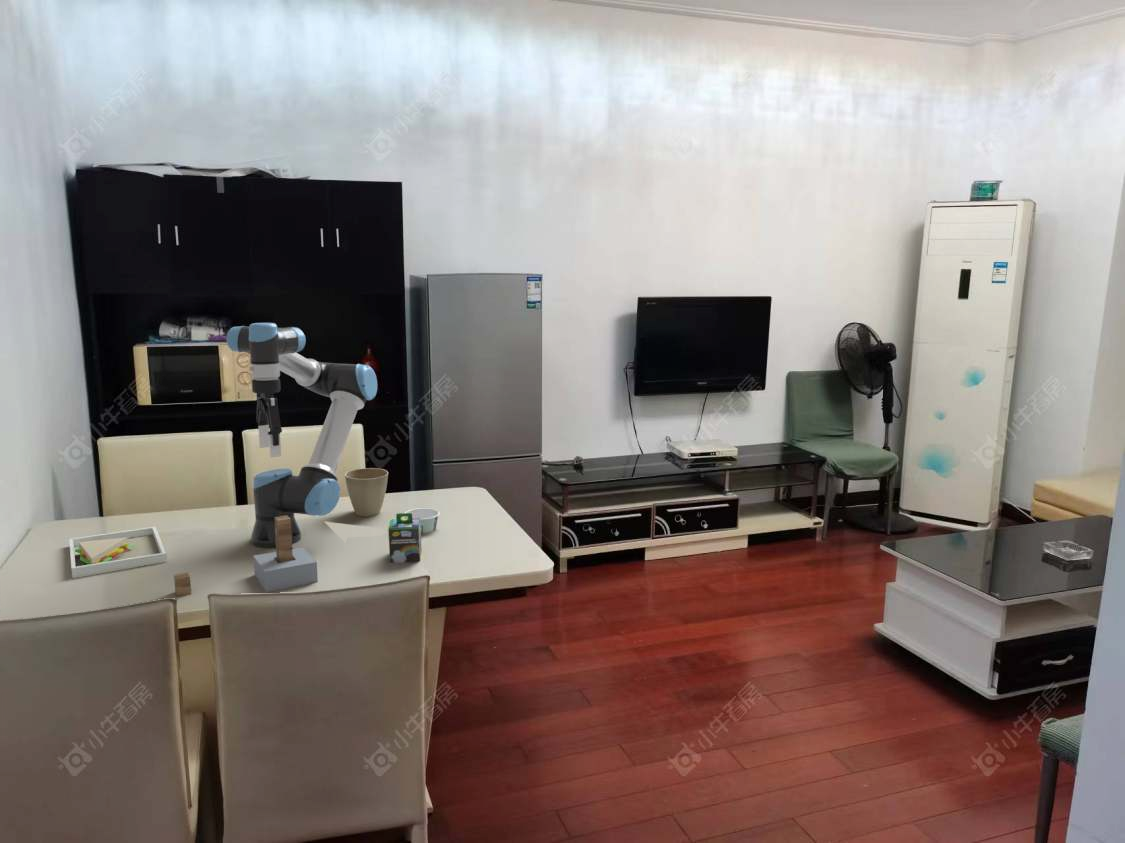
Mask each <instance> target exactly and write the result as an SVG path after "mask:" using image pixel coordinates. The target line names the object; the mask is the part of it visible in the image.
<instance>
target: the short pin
mask: <svg viewBox="0 0 1125 843" xmlns="http://www.w3.org/2000/svg"><path fill="white" fill-rule="evenodd" d="M173 578H174V579H173V580H174V590H175V591H174V592H175V596H176V597H177V596H178V597H183V596H187V595H186V594H188V595H192V586H191V585H192V584H191V576H190V574H189V572H182V573H176V574H173ZM182 595H183V596H182Z"/></svg>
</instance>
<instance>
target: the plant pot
mask: <svg viewBox="0 0 1125 843" xmlns="http://www.w3.org/2000/svg"><path fill="white" fill-rule="evenodd" d="M388 478H389V472H388V470H386V469H384V468H375V467H370V468H369V467H368V468H367V467H366V468H364V467H363V468H356V469H352V470H348V471H346V472H345V473H344V479H345V485H346V489H347V492H348V496H349V500H350V503H351V505H352V508H353V510H354V513H355V515H356V516H358V517H363V518H364V517H374V516H376V515H379V514H380V513H381V510H382V508H383V507H382V506H383V503H384V500H385V496H386V491H387V487H388V486H387V485H388V481H389V480H388Z"/></svg>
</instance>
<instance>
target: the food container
mask: <svg viewBox="0 0 1125 843" xmlns="http://www.w3.org/2000/svg"><path fill="white" fill-rule="evenodd" d="M404 513H412V518H420V525H421V534H428V533H432V532H434V531H436V530H437V526H438V519H439V516H440V514H441V513H440V511H439V510H437V509H435V508H428V507H427V508H425V507H424V508H423V507H422V508H421V507H419V508H413V509H409V510H406V511H405V512H404ZM403 518H404V519H406V518H408V517H406V516H403Z"/></svg>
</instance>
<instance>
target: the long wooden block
mask: <svg viewBox="0 0 1125 843" xmlns="http://www.w3.org/2000/svg"><path fill="white" fill-rule="evenodd" d="M274 520H275V537H276V548H275V552H276V554H277V563H282V562H287V561H293V553H292V549H293V544H292V535H291V519H290V518H289V517H288V516H287V515H286V516H280V517H274Z"/></svg>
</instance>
